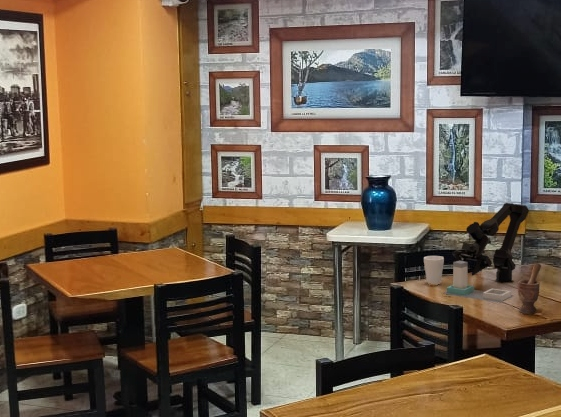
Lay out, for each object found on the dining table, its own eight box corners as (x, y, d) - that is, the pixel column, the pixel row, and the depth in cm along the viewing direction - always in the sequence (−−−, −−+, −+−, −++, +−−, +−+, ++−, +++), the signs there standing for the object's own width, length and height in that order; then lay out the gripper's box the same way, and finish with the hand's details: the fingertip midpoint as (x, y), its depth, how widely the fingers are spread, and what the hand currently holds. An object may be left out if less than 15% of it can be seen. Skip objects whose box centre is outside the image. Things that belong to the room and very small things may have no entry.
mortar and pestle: (521, 306, 348) (522, 261, 345) (542, 308, 344) (543, 262, 341) (515, 313, 338) (516, 266, 335) (536, 316, 334) (537, 268, 331)
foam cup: (442, 281, 395) (442, 255, 393) (444, 286, 386) (444, 259, 384) (423, 281, 396) (423, 255, 394) (424, 286, 387) (424, 260, 385)
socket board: (442, 295, 370) (442, 288, 369) (457, 289, 380) (457, 282, 380) (500, 304, 352) (501, 297, 351) (514, 297, 363) (514, 290, 362)
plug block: (459, 290, 375) (459, 260, 372) (467, 291, 371) (467, 262, 369) (453, 291, 372) (453, 262, 370) (461, 293, 368) (461, 263, 366)
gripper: (455, 233, 380) (439, 260, 375) (488, 238, 365) (472, 266, 360) (465, 247, 386) (451, 273, 381) (498, 252, 371) (483, 280, 366)
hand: (464, 273), depth 372 cm, fingers open, 9 cm apart
